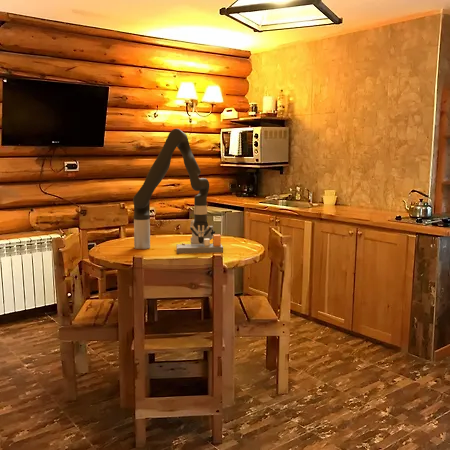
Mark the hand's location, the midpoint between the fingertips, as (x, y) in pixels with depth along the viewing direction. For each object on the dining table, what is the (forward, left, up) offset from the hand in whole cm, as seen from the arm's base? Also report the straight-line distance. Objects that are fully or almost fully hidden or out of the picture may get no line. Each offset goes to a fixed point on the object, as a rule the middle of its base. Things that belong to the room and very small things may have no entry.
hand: (200, 243), depth 294 cm
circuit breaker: (+3, +20, -5) cm, 21 cm away
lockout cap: (+9, 0, -2) cm, 9 cm away
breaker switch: (+3, 0, -1) cm, 4 cm away
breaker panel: (-1, 0, -5) cm, 5 cm away
